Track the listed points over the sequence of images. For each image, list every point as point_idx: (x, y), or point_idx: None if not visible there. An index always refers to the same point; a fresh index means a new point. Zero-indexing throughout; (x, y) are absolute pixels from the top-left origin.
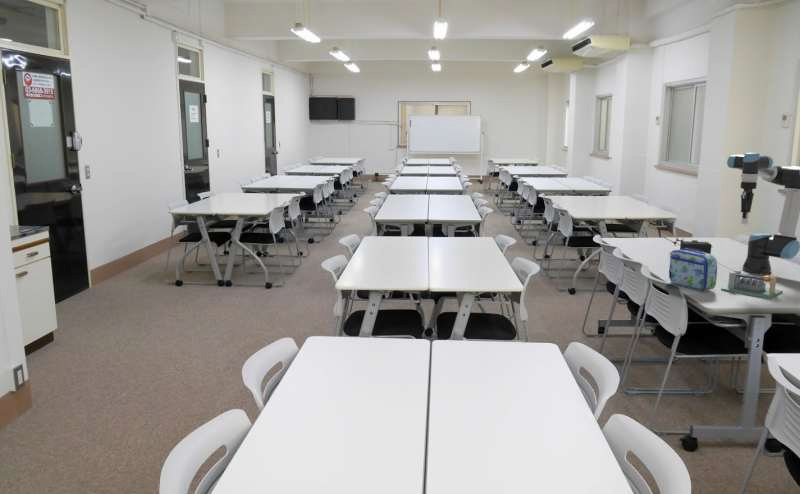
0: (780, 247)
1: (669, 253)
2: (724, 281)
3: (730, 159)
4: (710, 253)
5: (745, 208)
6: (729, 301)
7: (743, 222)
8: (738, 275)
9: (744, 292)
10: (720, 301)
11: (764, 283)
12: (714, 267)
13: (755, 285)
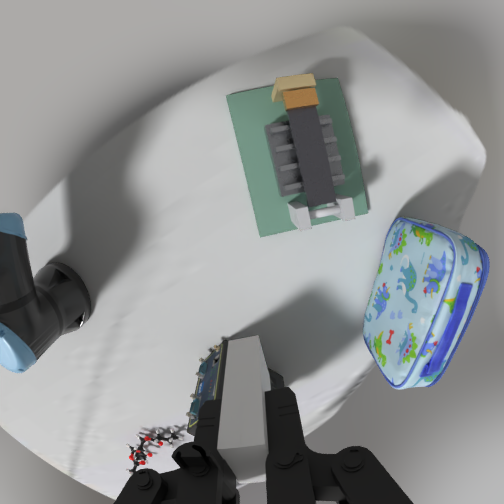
0: (9, 246)
1: (143, 460)
2: (254, 272)
3: None
4: (219, 385)
5: (397, 490)
6: (437, 140)
7: (266, 372)
8: (334, 192)
9: (353, 147)
10: (450, 155)
11: (271, 126)
12: (445, 229)
13: (325, 129)
